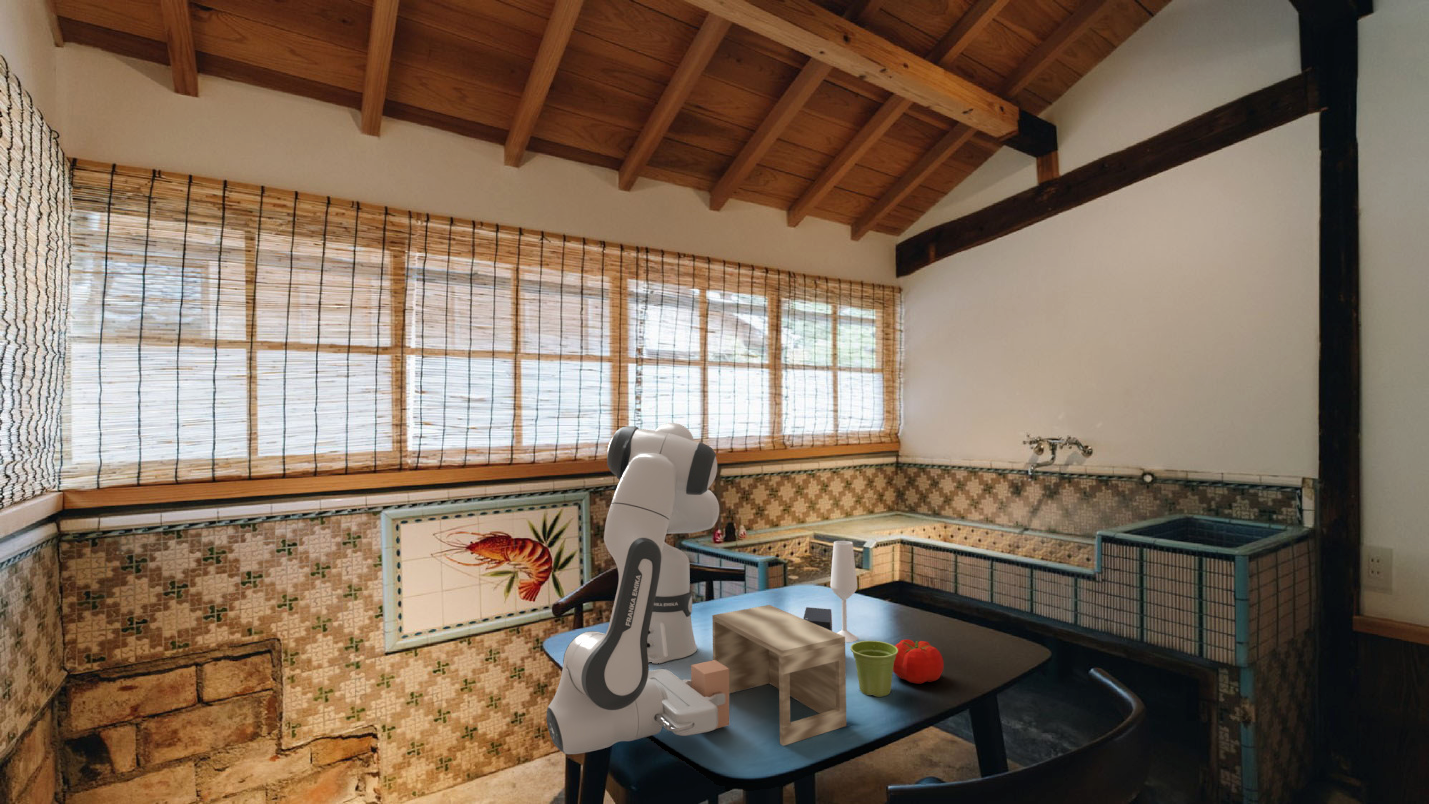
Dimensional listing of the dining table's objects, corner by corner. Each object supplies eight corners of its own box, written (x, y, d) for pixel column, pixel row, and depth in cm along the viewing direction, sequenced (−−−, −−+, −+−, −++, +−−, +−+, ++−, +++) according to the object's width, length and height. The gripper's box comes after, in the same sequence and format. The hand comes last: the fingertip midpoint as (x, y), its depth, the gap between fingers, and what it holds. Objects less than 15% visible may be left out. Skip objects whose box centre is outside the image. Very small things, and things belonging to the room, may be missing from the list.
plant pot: (870, 704, 128) (869, 659, 128) (842, 686, 136) (841, 644, 136) (908, 696, 131) (907, 652, 132) (879, 679, 140) (878, 638, 140)
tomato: (954, 685, 136) (953, 648, 137) (908, 692, 133) (907, 654, 133) (924, 667, 147) (923, 633, 147) (880, 672, 143) (879, 638, 144)
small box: (831, 668, 146) (831, 621, 146) (802, 667, 147) (801, 619, 148) (833, 652, 156) (832, 607, 157) (805, 650, 158) (804, 606, 158)
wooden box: (783, 745, 112) (782, 650, 112) (713, 695, 133) (712, 615, 133) (846, 725, 119) (845, 636, 119) (770, 680, 140) (769, 604, 140)
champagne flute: (857, 634, 169) (856, 540, 170) (858, 642, 162) (857, 545, 163) (831, 632, 170) (829, 539, 171) (831, 641, 164) (829, 544, 164)
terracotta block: (704, 731, 115) (704, 674, 115) (691, 720, 119) (691, 665, 120) (729, 725, 118) (728, 668, 118) (715, 714, 122) (714, 659, 122)
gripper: (670, 712, 103) (745, 693, 110) (621, 670, 121) (688, 655, 128) (671, 753, 103) (745, 731, 110) (621, 704, 121) (688, 688, 128)
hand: (714, 690), depth 119 cm, fingers closed on terracotta block, 5 cm apart
